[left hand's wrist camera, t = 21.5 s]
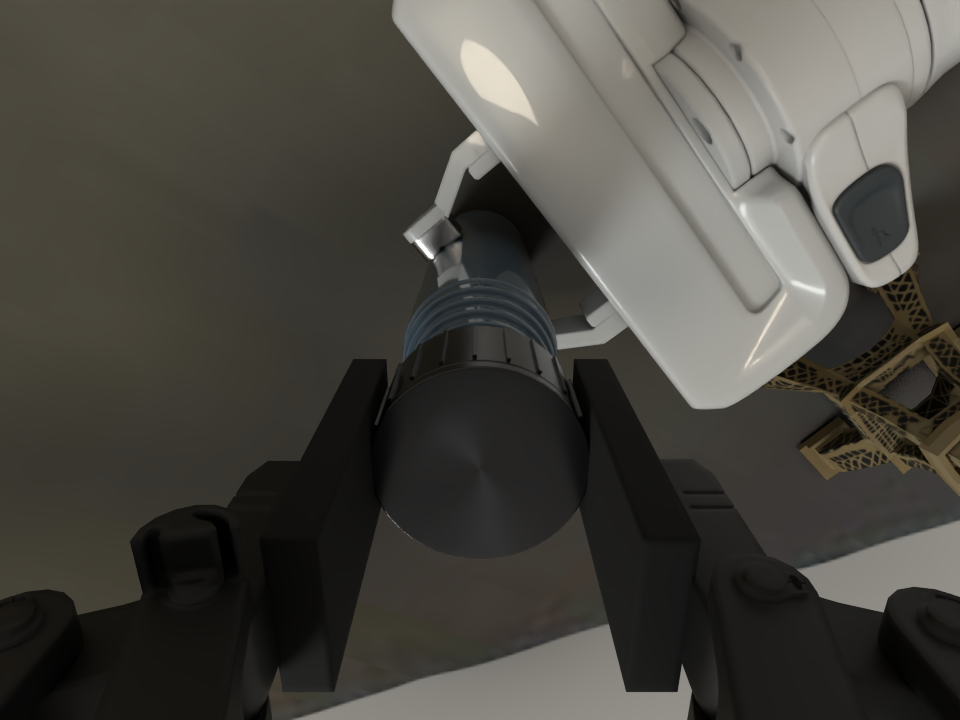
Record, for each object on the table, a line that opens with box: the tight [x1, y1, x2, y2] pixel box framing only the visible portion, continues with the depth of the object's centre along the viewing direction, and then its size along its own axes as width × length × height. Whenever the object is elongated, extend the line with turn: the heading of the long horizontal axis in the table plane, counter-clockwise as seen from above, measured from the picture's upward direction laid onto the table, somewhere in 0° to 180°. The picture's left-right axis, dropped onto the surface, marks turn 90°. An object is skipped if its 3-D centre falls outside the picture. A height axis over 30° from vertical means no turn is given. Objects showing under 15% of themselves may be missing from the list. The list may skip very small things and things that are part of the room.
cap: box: [371, 325, 590, 559], centre depth 13 cm, size 4×4×2 cm
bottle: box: [403, 210, 558, 362], centre depth 22 cm, size 5×5×20 cm
